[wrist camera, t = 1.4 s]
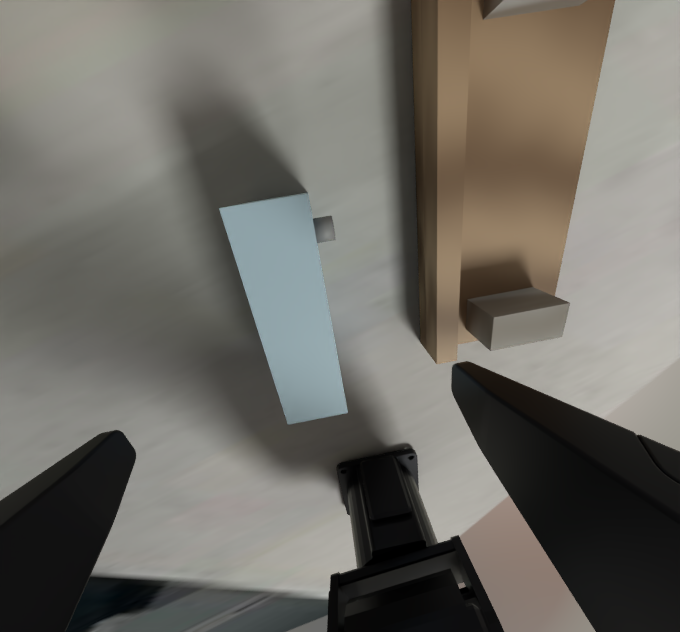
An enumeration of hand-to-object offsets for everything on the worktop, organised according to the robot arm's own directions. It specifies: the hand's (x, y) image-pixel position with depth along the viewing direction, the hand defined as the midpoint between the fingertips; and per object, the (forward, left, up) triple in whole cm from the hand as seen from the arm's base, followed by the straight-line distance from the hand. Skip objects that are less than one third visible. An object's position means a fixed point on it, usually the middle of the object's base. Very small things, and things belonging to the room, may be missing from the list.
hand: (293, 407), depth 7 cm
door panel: (0, 0, -9) cm, 9 cm away
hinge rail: (+4, -11, -9) cm, 15 cm away
